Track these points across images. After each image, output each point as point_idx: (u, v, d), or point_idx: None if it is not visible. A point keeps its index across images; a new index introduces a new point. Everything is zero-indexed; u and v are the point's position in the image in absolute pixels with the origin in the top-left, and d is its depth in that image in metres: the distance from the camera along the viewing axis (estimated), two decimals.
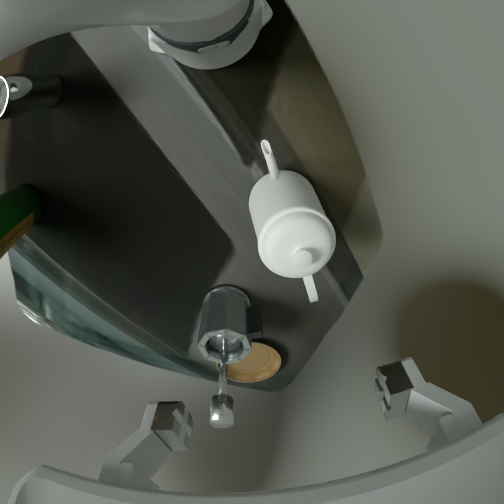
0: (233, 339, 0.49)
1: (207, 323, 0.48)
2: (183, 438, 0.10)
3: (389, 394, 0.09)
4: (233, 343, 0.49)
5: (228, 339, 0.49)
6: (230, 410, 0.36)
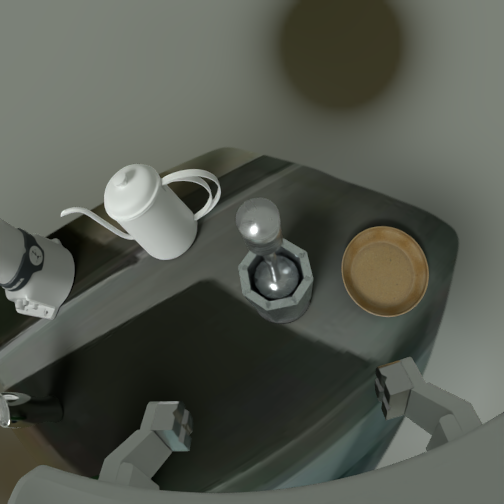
0: None
1: (246, 297, 0.37)
2: (183, 438, 0.10)
3: (389, 394, 0.09)
4: (281, 265, 0.37)
5: None
6: None
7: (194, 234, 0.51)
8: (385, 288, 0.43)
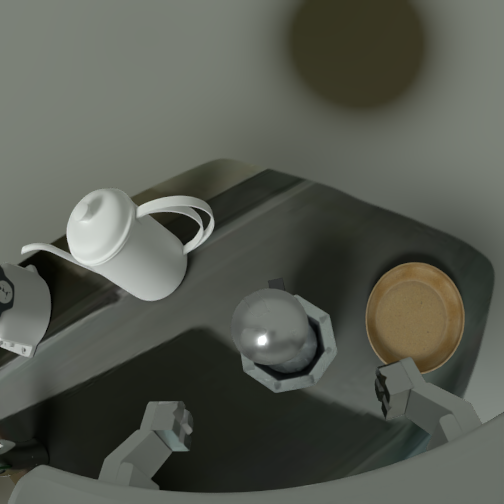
0: None
1: None
2: (183, 438, 0.10)
3: (389, 394, 0.09)
4: None
5: None
6: None
7: (183, 271, 0.41)
8: (414, 337, 0.34)
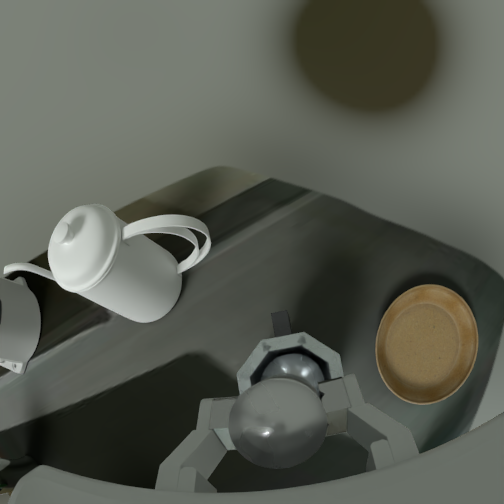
0: (288, 368, 0.24)
1: None
2: None
3: None
4: (300, 368, 0.23)
5: None
6: None
7: (178, 291, 0.37)
8: (425, 364, 0.30)
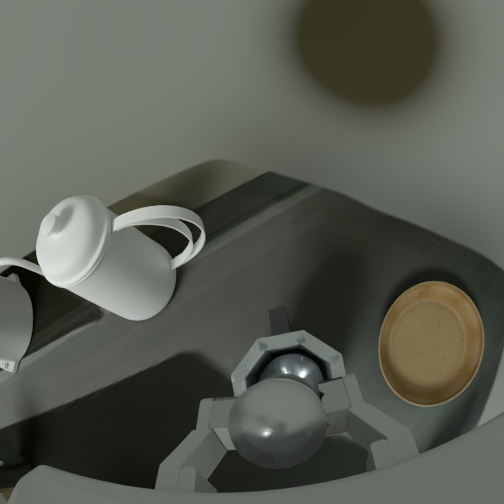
0: (287, 368, 0.24)
1: None
2: None
3: None
4: (299, 369, 0.23)
5: None
6: (258, 383, 0.10)
7: (172, 288, 0.36)
8: (430, 364, 0.29)
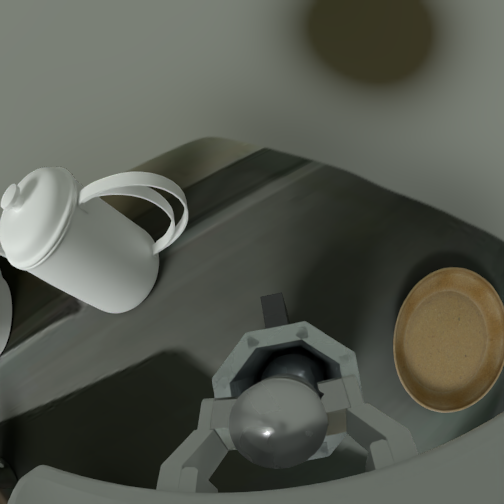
0: (288, 368, 0.24)
1: None
2: None
3: None
4: (300, 368, 0.23)
5: None
6: None
7: (153, 276, 0.31)
8: (450, 364, 0.24)
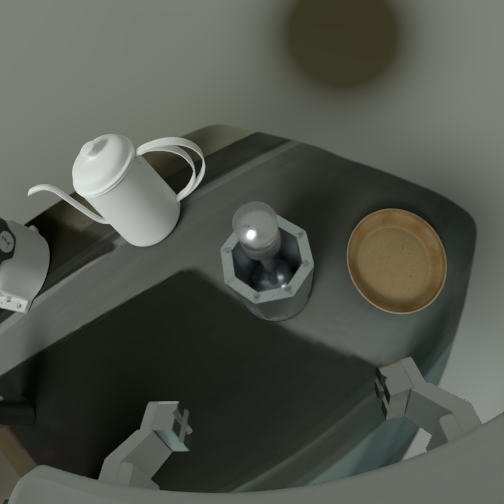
0: None
1: (230, 287, 0.30)
2: (183, 438, 0.10)
3: (389, 394, 0.09)
4: (279, 269, 0.36)
5: None
6: None
7: (176, 217, 0.44)
8: (397, 280, 0.37)
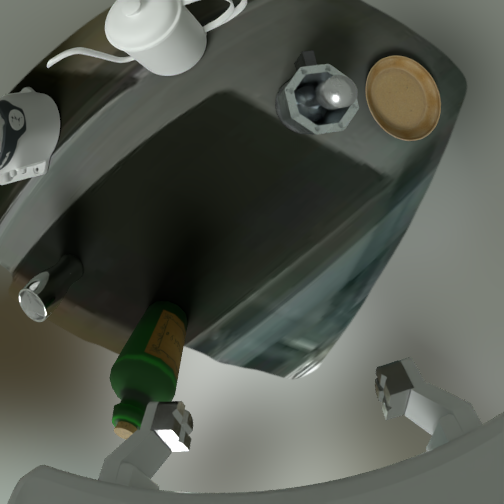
0: (306, 94, 0.38)
1: (288, 117, 0.33)
2: (183, 438, 0.10)
3: (389, 394, 0.09)
4: (313, 95, 0.38)
5: (306, 99, 0.38)
6: (327, 79, 0.24)
7: (205, 45, 0.36)
8: (400, 112, 0.41)
